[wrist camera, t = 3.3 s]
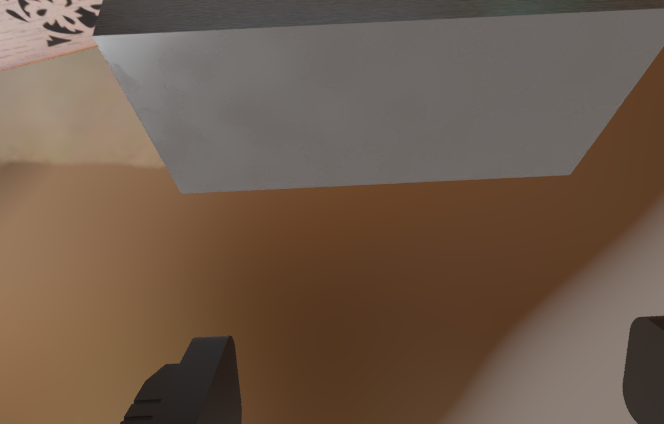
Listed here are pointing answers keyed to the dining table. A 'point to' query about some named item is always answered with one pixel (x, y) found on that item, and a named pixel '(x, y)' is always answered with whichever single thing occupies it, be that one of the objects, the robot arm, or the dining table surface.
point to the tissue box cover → (45, 29)
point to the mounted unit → (374, 85)
